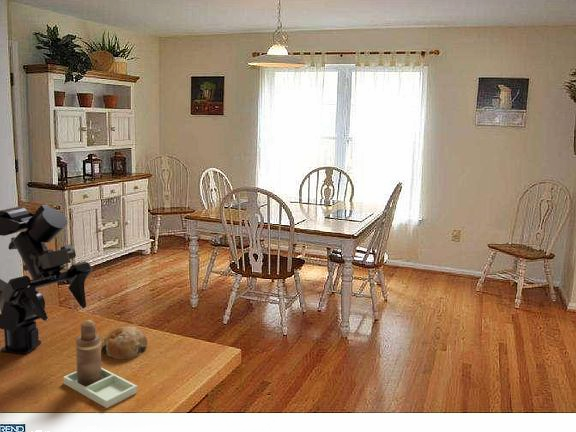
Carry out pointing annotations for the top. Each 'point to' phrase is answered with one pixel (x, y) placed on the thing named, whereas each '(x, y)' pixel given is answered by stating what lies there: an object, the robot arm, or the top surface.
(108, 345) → the bread roll
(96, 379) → the pepper mill
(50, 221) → the robot arm
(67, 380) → the caddy
